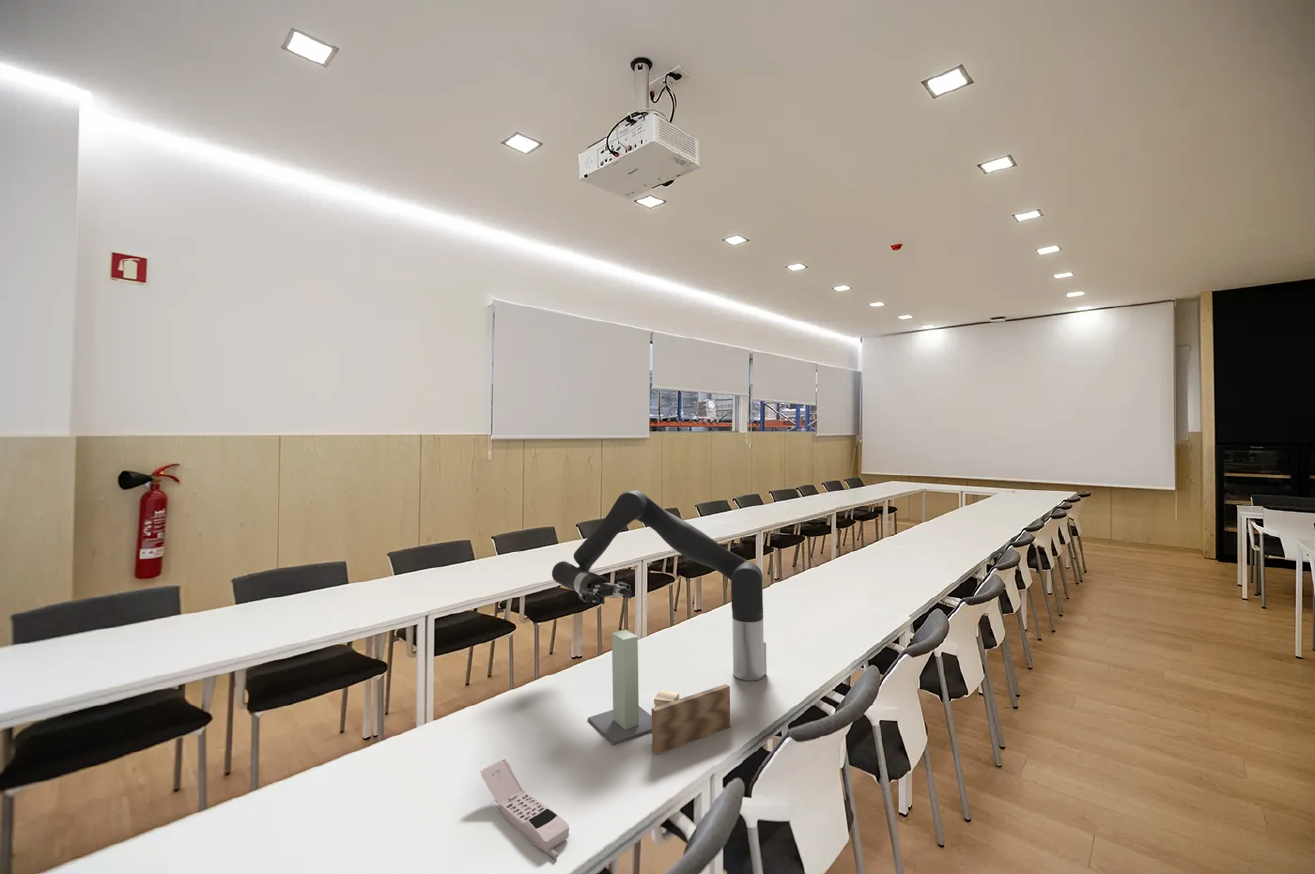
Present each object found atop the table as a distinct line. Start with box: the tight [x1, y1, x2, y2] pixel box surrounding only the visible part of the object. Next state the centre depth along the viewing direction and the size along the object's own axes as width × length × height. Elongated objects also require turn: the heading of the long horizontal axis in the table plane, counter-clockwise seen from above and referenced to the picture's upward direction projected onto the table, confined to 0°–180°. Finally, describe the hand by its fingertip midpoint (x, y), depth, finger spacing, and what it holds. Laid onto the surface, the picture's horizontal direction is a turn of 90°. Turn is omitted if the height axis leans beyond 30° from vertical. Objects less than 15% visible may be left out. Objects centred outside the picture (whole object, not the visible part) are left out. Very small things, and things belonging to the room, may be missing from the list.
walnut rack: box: [651, 683, 731, 756], centre depth 135 cm, size 22×8×10 cm, turn 123°
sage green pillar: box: [611, 629, 640, 729], centre depth 139 cm, size 4×6×22 cm, turn 33°
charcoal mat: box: [587, 705, 652, 746], centre depth 140 cm, size 14×14×1 cm
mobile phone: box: [479, 758, 570, 859], centre depth 105 cm, size 6×6×25 cm
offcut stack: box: [653, 689, 680, 707], centre depth 145 cm, size 7×7×4 cm
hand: (617, 597), depth 152 cm, fingers open, 8 cm apart
